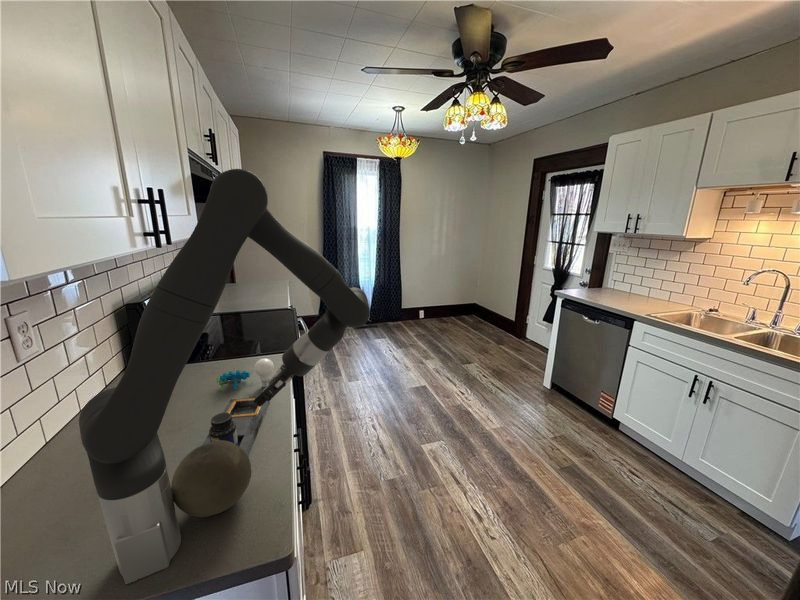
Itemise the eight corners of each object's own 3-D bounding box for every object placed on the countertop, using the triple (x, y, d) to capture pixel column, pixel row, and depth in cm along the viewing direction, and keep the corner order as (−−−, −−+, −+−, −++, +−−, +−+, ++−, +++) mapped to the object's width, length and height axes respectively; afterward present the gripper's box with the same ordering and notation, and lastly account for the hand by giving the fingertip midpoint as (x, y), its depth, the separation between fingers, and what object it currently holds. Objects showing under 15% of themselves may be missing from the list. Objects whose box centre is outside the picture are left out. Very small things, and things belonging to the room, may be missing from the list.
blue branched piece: (253, 374, 122) (245, 366, 113) (254, 389, 119) (245, 382, 110) (222, 381, 119) (211, 373, 111) (222, 396, 117) (211, 390, 108)
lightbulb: (252, 388, 115) (249, 360, 112) (267, 380, 121) (264, 354, 118) (265, 392, 113) (262, 364, 110) (279, 384, 118) (276, 357, 115)
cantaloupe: (194, 486, 74) (184, 431, 70) (259, 476, 77) (253, 423, 73) (166, 545, 61) (152, 482, 57) (246, 531, 64) (237, 469, 60)
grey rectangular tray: (243, 466, 80) (242, 457, 79) (191, 472, 78) (190, 462, 77) (269, 403, 106) (269, 396, 106) (231, 406, 105) (230, 398, 104)
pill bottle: (209, 464, 80) (203, 427, 77) (216, 447, 86) (211, 412, 83) (236, 459, 82) (231, 423, 79) (241, 443, 88) (236, 409, 85)
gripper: (303, 331, 82) (264, 370, 86) (284, 355, 69) (238, 400, 72) (325, 350, 84) (285, 387, 87) (310, 377, 70) (264, 421, 73)
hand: (264, 393), depth 79 cm, fingers open, 8 cm apart
